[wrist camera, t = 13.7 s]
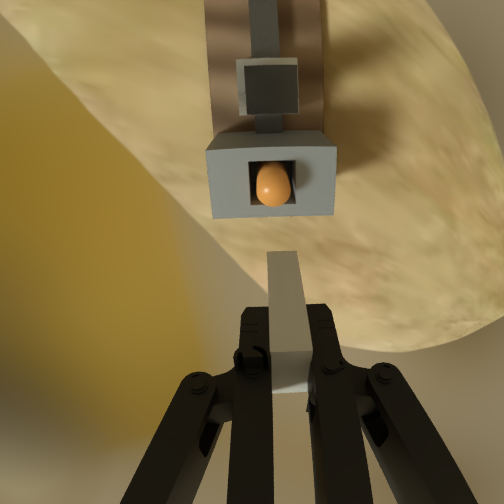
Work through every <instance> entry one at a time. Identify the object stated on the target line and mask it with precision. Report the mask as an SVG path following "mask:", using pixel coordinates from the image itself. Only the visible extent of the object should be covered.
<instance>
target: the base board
mask: <svg viewBox="0 0 504 504" xmlns="http://www.w3.org/2000/svg"><path fill="white" fill-rule="evenodd" d="M204 8H205V25H206V41H207V56H208V70H209V84H210V97H211V109H212V121H213V133H214V138H215V136H216V135H217V134H218V133H229V132H246V131H256V128H255V115H242V116H239V101H238V86H237V69H236V59H252V54H251V37H250V20H249V4H248V0H204ZM277 11H278V27H279V46H280V58H297V67H298V98H299V114H282V119H283V130H320V131H321V132H322V133H323V134H324V86H323V51H322V29H321V13H320V0H277Z"/></svg>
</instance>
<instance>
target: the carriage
mask: <svg viewBox="0 0 504 504" xmlns="http://www.w3.org/2000/svg"><path fill="white" fill-rule="evenodd" d="M236 69H237V86H238V101H239V116H242V115H265V114H299V98H298V67H297V58H252V59H236Z"/></svg>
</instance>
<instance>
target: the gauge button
mask: <svg viewBox="0 0 504 504" xmlns="http://www.w3.org/2000/svg"><path fill="white" fill-rule="evenodd" d="M256 192H257V196H258V198H259V200H260V201H261V202H262V203H263V204H265V205H267V206H270V207H277V206H280V205H282V204H284V203H285V202H286V201H287V200H288V199H289V197H290V194H291V188H290V184H289V180H288V176H287V172H286V169H285V165H284V161H283V160H276V161H258V163H257V191H256Z"/></svg>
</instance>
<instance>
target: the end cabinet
mask: <svg viewBox="0 0 504 504" xmlns="http://www.w3.org/2000/svg"><path fill="white" fill-rule="evenodd" d="M205 151H206V161H207V171H208V180H209V189H210V198H211V207H212V215H213V219H224V218H249V217H279V216H321V215H334V201H335V184H336V162H337V146H336V145H335V144H334V143H333V142H332V141H331V140H329V139H328V138H327V137H326V136H325V135H324V134H323V133H322V132H321V131H320V130H283V133H269V134H256V131H246V132H229V133H218V134H217V135H216V136H215V138H214V139H213V141H212V142H211V143H210V145H209V146H208V148H207V149H206V150H205ZM276 160H283V161H284V165H285V169H286V172H287V176H288V180H289V184H290V188H291V194H290V197H289V199H288V200H287V201H286V202H285V203H284V204H282V205H280V206H277V207H270V206H267V205H265V204H263V203H262V202H261V201H260V200H259V198H258V196H257V192H256V191H257V163H258V161H276Z"/></svg>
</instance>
